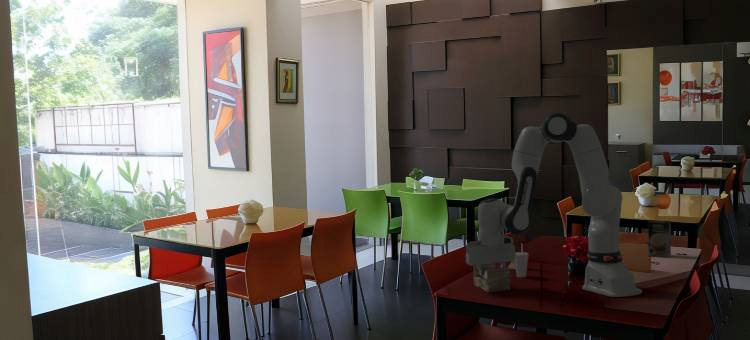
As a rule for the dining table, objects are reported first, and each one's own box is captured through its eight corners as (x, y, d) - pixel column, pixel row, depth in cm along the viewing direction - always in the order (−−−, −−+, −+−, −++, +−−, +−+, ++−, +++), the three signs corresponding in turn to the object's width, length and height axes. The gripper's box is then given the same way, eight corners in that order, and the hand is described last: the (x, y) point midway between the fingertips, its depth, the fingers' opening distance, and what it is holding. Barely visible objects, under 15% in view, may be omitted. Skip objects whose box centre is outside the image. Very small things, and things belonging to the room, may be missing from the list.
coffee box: (647, 256, 303) (647, 222, 302) (650, 253, 309) (649, 219, 307) (669, 257, 298) (668, 222, 297) (671, 255, 304) (671, 220, 302)
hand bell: (522, 270, 286) (521, 234, 285) (504, 268, 291) (503, 233, 290) (530, 267, 293) (529, 231, 292) (512, 265, 298) (511, 230, 297)
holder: (510, 290, 255) (509, 267, 254) (488, 292, 252) (488, 269, 252) (494, 282, 268) (493, 260, 268) (473, 284, 266) (473, 262, 265)
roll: (502, 287, 256) (502, 274, 256) (491, 288, 255) (490, 275, 255) (492, 281, 266) (491, 269, 265) (480, 282, 264) (480, 270, 264)
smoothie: (529, 278, 272) (528, 244, 271) (513, 278, 273) (512, 245, 272) (529, 274, 278) (528, 242, 277) (513, 274, 280) (512, 242, 279)
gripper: (469, 243, 253) (470, 278, 254) (516, 238, 259) (518, 273, 260) (462, 240, 259) (463, 275, 260) (509, 236, 265) (510, 269, 266)
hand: (491, 274), depth 260 cm, fingers open, 7 cm apart
